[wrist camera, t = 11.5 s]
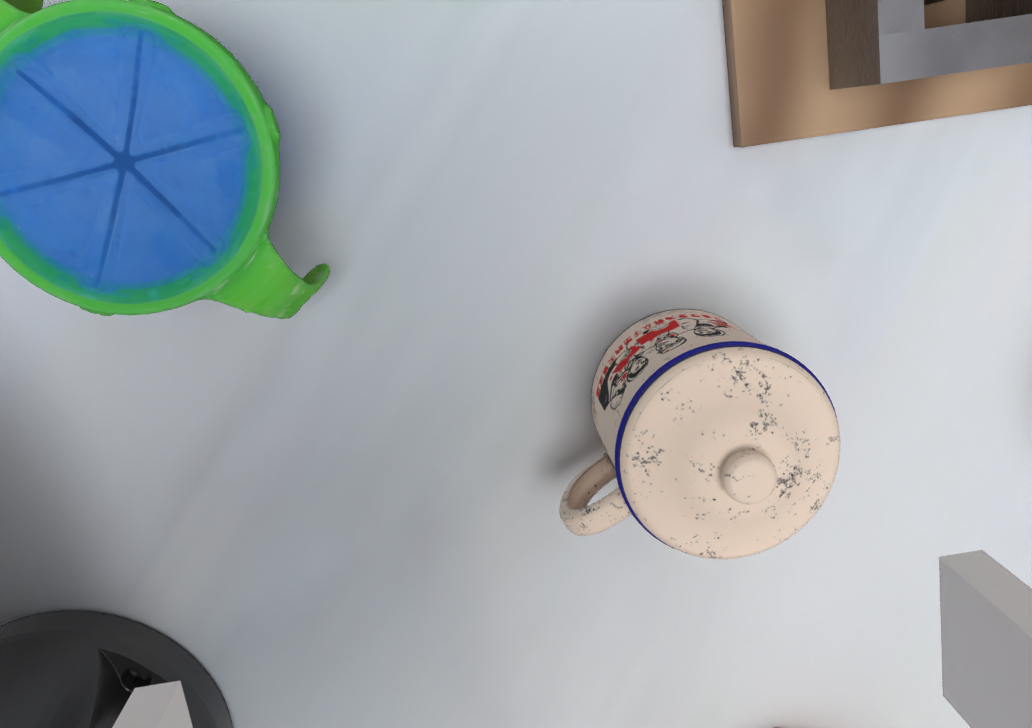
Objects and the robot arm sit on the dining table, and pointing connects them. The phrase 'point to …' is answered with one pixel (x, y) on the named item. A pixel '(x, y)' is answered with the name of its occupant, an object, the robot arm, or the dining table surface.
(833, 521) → the dining table surface
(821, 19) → the brown rectangular base plate
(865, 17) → the hollow square frame
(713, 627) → the dining table surface
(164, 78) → the snack cup
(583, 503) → the teacup with lid
